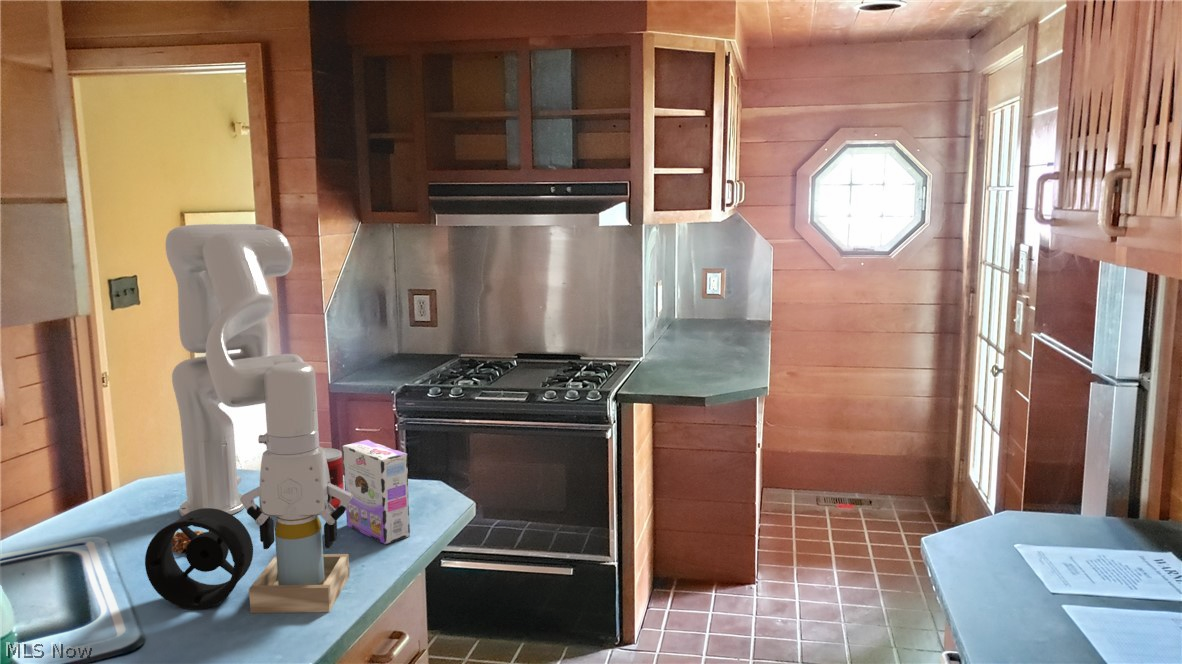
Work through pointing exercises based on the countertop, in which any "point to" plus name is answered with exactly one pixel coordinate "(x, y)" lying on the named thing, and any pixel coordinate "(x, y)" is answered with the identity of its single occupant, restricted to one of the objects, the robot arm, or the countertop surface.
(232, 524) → the black ducted fan housing
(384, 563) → the countertop surface
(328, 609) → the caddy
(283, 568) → the bottle
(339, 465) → the canned food
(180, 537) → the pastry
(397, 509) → the candy box
